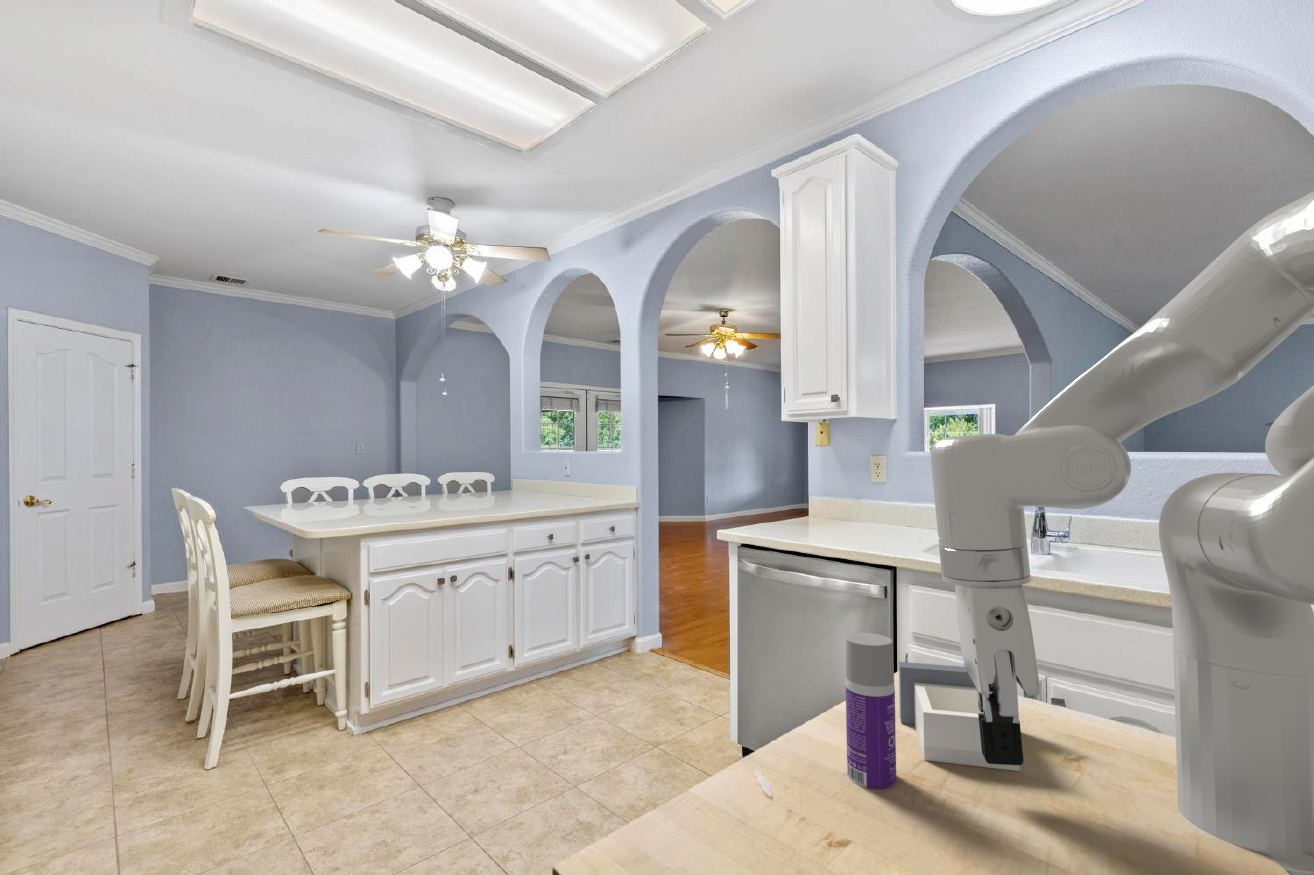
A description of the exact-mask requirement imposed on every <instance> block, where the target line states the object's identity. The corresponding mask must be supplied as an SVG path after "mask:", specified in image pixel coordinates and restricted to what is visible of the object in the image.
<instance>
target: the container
mask: <svg viewBox="0 0 1314 875" xmlns="http://www.w3.org/2000/svg"><path fill="white" fill-rule="evenodd" d="M894 668H895V667H894V650H893V639H891V638H890V637H888V636H885V635H882V634H877V633H871V632H856V633H855V632H854V633H851V634H848V635H847V636H846V637H845V721H846V723H845V724H846V728H845V729H846V772H847V777H848V778H849V780H850V781H851V782H853V783H854V784H856V785H858V786H860V787H863V788H865V789H866V788H867V789H872V790H886V789H889V788H892V787H894V786H895V785H896V783H897V750H896V749H897V746H896V744H897V742H896V741H897V740H896V739H897V736H896V734H897V733H896V732H897V731H896V696H895V695H896V690H895V689H896V688H895V686H896V685H895V672H894V670H895V669H894Z"/></svg>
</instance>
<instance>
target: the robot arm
mask: <svg viewBox="0 0 1314 875" xmlns="http://www.w3.org/2000/svg"><path fill="white" fill-rule="evenodd" d="M1313 315H1314V191H1311V192H1309V193H1308V194H1306V195H1303V196H1302V197H1300V198H1298V199H1296V200H1294V201H1292V202H1289V203H1288V204H1286V205H1284V206H1282V207H1280V208H1278V209H1276V210H1274V211H1272V212H1271V213H1269V214H1268V215H1266V216H1264V217H1263V218H1261V219H1260V220H1258V221H1257V222H1255V224H1252V226H1250V227H1249V228H1248V229H1247V230H1246V231H1244V232H1243V233H1242V234H1241V235H1240V236H1239V237H1238V238H1237V239H1236V240H1234V241H1233V242H1232V243H1231V244H1230V245H1229V246H1228V247H1227V248H1226V249H1224V250H1223V252H1221V254H1220V255H1218V256H1217V257H1216V258H1215V259H1214V260H1213V261H1212V262H1211V263H1209V264H1208V265H1207V267H1205V268H1204V269H1203V270H1202V271H1201V272H1200V273H1199V274H1198V275H1196V277H1194V279H1192V280H1191V282H1190V283H1188V284H1187V285H1186V286H1185V287H1184V288H1183V289H1182V290H1181V291H1180V292H1179V293H1177V294H1176V296H1174V297H1173V298H1172V299H1170V301H1169V302H1168V303H1166V304H1165V305H1164V306H1163V307H1162V308H1161V309H1159V311H1158V312H1157V313H1155V314H1154V315H1153V316H1152V317H1151V318H1150V319H1148V320H1147V321H1146V322H1145V323H1144V324H1143V325H1142V326H1140V327H1139V328H1138V329H1137V330H1135V331H1134V332H1133V333H1131V334H1130V335H1129V336H1127V338H1125V339H1124V340H1122V342H1120V343H1119V344H1118V345H1117V346H1115V347H1114V348H1113V349H1111V351H1110V352H1108V353H1107V354H1106V355H1105V356H1104V357H1103V358H1101V359H1100V360H1099V361H1097V362H1096V364H1094V365H1092V367H1090V368H1089V369H1087V370H1086V371H1085V372H1084V373H1082V374H1081V375H1080V376H1078V377H1077V378H1076V379H1075V380H1074V381H1073V382H1071V383H1070V384H1068V385H1067V386H1066V387H1065V388H1064V389H1063V390H1061V391H1060V392H1059V393H1058V394H1057V395H1055V397H1053V398H1052V399H1051V400H1050V401H1049V402H1047V404H1046V405H1045V406H1044V407H1043V408H1041V409H1040V410H1039V411H1038V412H1037V413H1036V414H1034V415H1033V416H1032V417H1031V419H1029V421H1027V423H1025V424H1024V425H1023V426H1022V427H1021V428H1020V429H1019V430H1017V432H1016V433H1015V434H1014V435H1007V434H1002V433H983V434H971V435H969V434H968V435H958V436H949V437H944V438H941V439H939V440H937V441H936V442H935V443H934V444H933V446H932V448H931V451H930V463H931V464H930V466H931V474H932V475H931V476H932V483H933V486H932V487H933V498H934V506H935V515H936V527H937V537H938V538H937V539H938V540H937V541H938V545H939V546H938V548H939V549H938V550H939V561H940V571H941V572H940V573H941V580H942V581H943V582H944V583H946V584H947V583H948V584H950V585H954V588H955V590H954V592H955V593H954V594H955V601H956V602H955V603H956V616H957V624H958V625H957V627H958V635H959V643H960V650H961V657H962V661H963V665H964V667H965V668H966V670H967V672H968V674H969V676H970V678H971V679H972V681H973V683H974V685H975V686H976V688H977V697H978V705H979V710H980V712H982V713H984V714H978V717H979V727H980V738H981V748H982V754H983V756H984V758H985V760H986V762H987V763H989V764H1001V765H1020V766H1022V765H1024V752H1023V751H1024V750H1023V741H1022V731H1021V730H1022V729H1021V721H1020V718H1019V716H1020V715H1019V714H1020V712H1019V699H1018V698H1019V697H1018V686H1020V688H1021V689H1022V690H1023V692H1024V693H1025V694H1026V696H1027V697H1030V698H1031V699H1033V700H1036V699H1038V698H1039V697H1040V696H1041V694H1042V690H1041V685H1040V683H1041V682H1040V677H1039V669H1038V664H1037V656H1036V648H1035V642H1034V635H1033V631H1032V630H1033V629H1032V622H1031V618H1030V613H1029V607H1028V602H1027V598H1026V594H1025V590H1024V587H1023V585H1027V584H1029V583H1030V582H1031V580H1032V579H1031V578H1032V577H1031V570H1030V559H1029V558H1030V557H1029V548H1028V539H1027V530H1026V518H1025V511H1024V510H1025V509H1024V508H1025V507H1036V508H1037V507H1039V508H1055V509H1064V510H1065V509H1067V510H1083V509H1085V510H1086V509H1092V508H1095V507H1098V506H1101V505H1105V504H1106V503H1109V502H1110V501H1112V500H1113V499H1115V498H1116V497H1117V496H1119V494H1121V493H1122V492H1123V490H1124V489H1125V487H1126V486H1127V484H1128V482H1129V480H1130V477H1131V472H1132V464H1131V463H1132V462H1131V459H1130V456H1129V452H1128V451H1127V449H1126V448H1125V447H1124V446H1123V444H1122V443H1123V441H1124V440H1126V439H1127V438H1129V437H1130V436H1131V435H1133V434H1135V433H1136V432H1138V431H1139V430H1140V429H1142V428H1144V427H1146V426H1148V425H1149V424H1151V423H1153V422H1155V421H1157V420H1159V419H1162V418H1163V417H1165V416H1167V415H1170V414H1172V413H1175V412H1178V411H1180V410H1183V409H1185V408H1187V407H1191V406H1193V405H1196V404H1199V403H1200V402H1202V401H1205V400H1207V399H1209V398H1211V397H1213V396H1215V395H1217V394H1218V393H1220V392H1222V391H1224V390H1226V389H1228V388H1229V387H1231V386H1233V385H1234V384H1236V383H1238V381H1239V380H1241V379H1242V378H1243V377H1244V376H1246V375H1247V374H1248V373H1249V372H1250V371H1251V370H1252V369H1253V368H1254V367H1255V366H1256V365H1258V364H1259V363H1260V362H1261V361H1262V360H1264V358H1265V357H1266V356H1268V355H1269V354H1270V353H1271V352H1272V351H1273V350H1275V348H1277V347H1278V346H1279V345H1280V344H1281V343H1282V342H1284V341H1285V340H1286V339H1287V338H1288V337H1289V336H1290V335H1291V334H1292V333H1294V332H1295V331H1296V330H1297V329H1298V328H1299V327H1300V326H1302V325H1303V324H1304V323H1305V322H1306V321H1307V320H1309V319H1310V318H1311V317H1312V316H1313ZM1265 438H1266V439H1265V444H1264V450H1265V455H1266V457H1267V460H1268V462H1269V463H1270V465H1271V466H1272V467H1273V468H1274V470H1275V471H1276V472H1278V473H1279V474H1280V475H1279V474H1271V473H1252V472H1218V473H1211V474H1206V475H1202V476H1199V477H1196V478H1194V479H1191V480H1189V481H1187V482H1185V483H1184V484H1182V485H1179V487H1178V488H1177V489H1175V490H1174V491H1173V492H1172V493H1171V494H1170V495H1169V497H1168V498H1167V499H1166V501H1165V502H1164V504H1163V506H1162V509H1161V512H1160V514H1159V520H1158V538H1159V545H1160V550H1161V556H1162V559H1163V560H1162V561H1163V564H1164V568H1165V572H1166V577H1167V582H1168V588H1169V596H1170V603H1171V605H1170V606H1171V618H1172V620H1171V621H1172V638H1173V640H1172V644H1173V646H1172V651H1173V652H1172V654H1173V656H1172V657H1173V683H1174V684H1173V687H1174V688H1173V689H1174V690H1173V691H1174V719H1175V720H1174V721H1175V722H1174V723H1175V749H1176V750H1175V752H1176V753H1175V755H1176V784H1177V786H1176V787H1177V789H1176V791H1177V806H1178V811H1179V812H1180V813H1181V815H1182V817H1184V818H1185V819H1186V820H1187V821H1188V822H1190V823H1191V824H1192V825H1193V826H1195V827H1197V828H1198V829H1200V830H1201V831H1203V832H1205V833H1207V834H1209V835H1211V836H1213V837H1215V838H1216V839H1219V840H1222V841H1223V842H1226V843H1229V844H1231V845H1234V846H1237V847H1239V848H1242V849H1246V850H1249V851H1252V852H1255V853H1259V854H1264V855H1266V856H1269V857H1271V858H1272V859H1273V861H1275V862H1276V863H1277V864H1278V865H1279V866H1280V867H1281V868H1282V869H1284V871H1285V872H1286V873H1288V874H1289V875H1314V610H1313V607H1312V605H1313V606H1314V384H1313V385H1312V386H1311V387H1310V388H1308V389H1307V390H1306V391H1305V392H1304V393H1303V394H1302V395H1300V396H1299V397H1298V398H1297V399H1296V400H1294V401H1293V402H1292V403H1290V405H1288V406H1287V407H1286V408H1285V409H1284V410H1283V411H1282V412H1281V413H1280V415H1279V416H1278V417H1276V419H1275V420H1274V421H1273V422H1272V424H1271V426H1270V428H1269V429H1268V432H1267V436H1266V437H1265Z"/></svg>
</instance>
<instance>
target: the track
mask: <svg viewBox="0 0 1314 875" xmlns="http://www.w3.org/2000/svg"><path fill="white" fill-rule="evenodd" d="M898 682H899V684H898V685H899V686H898V687H899V688H898V690H899V692H898V693H899V695H898V696H899V719H900V724H901V725H907V726H908V725H909V726H915V708H914V683H926V684H938V685H950V686H961V687H973V688H976V686H975V685H974V683H973V681H972V679H971V678H970V676H969V674H968V672H967V670H966V668H965V666H960V665H958V666H957V665H946V664H934V663H933V664H931V663H918V662H906V661H898Z"/></svg>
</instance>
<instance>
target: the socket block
mask: <svg viewBox="0 0 1314 875" xmlns="http://www.w3.org/2000/svg"><path fill="white" fill-rule="evenodd" d="M914 708H915V725H914V727H915V730H916V735H917V738H918V742H919V745H920V748H921V753H922V756H923V760H924V761H929V762H938V763H947V764H955V765H963V766H971V767H980V768H981V767H982V768H987V769H989V768H991V769H998V770H1007V771H1013V772H1014V771H1015V772H1020V771H1021V765H1001V764H989V763H987V762H986V760H985V758H984V756H983V754H982V748H981V738H980V727H979V717H978V714H984V713H982V712H980V710H979V705H978V697H977V688H973V687H961V686H950V685H938V684H926V683H914Z"/></svg>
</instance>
